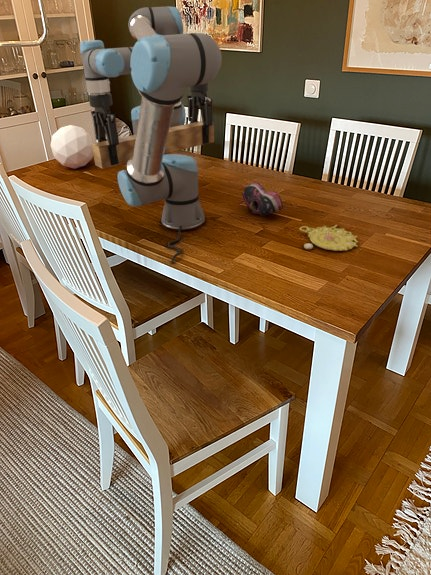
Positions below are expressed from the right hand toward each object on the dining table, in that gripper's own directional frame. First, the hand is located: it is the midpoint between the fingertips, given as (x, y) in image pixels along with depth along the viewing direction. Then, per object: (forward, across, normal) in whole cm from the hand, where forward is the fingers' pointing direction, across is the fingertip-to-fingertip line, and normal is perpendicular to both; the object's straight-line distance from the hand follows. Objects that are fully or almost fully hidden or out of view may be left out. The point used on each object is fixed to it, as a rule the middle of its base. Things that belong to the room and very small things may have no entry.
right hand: (110, 162), depth 160 cm
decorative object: (+18, -70, -38) cm, 82 cm away
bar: (+1, 0, -21) cm, 21 cm away
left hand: (0, 0, -42) cm, 42 cm away
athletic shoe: (+18, -38, -37) cm, 56 cm away
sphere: (+17, +60, -10) cm, 64 cm away
